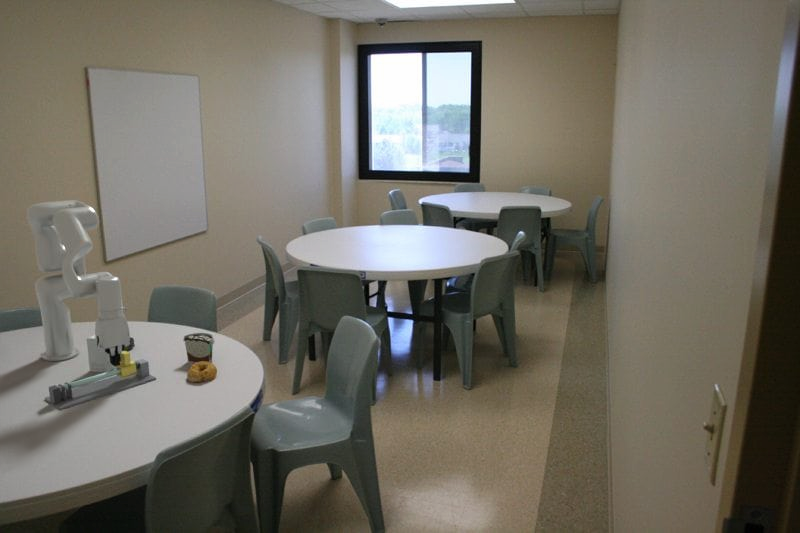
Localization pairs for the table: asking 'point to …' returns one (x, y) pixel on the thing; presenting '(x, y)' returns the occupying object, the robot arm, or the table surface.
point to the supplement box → (98, 357)
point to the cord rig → (97, 386)
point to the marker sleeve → (126, 365)
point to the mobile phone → (129, 345)
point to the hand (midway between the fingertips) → (115, 364)
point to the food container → (199, 347)
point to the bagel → (202, 372)
